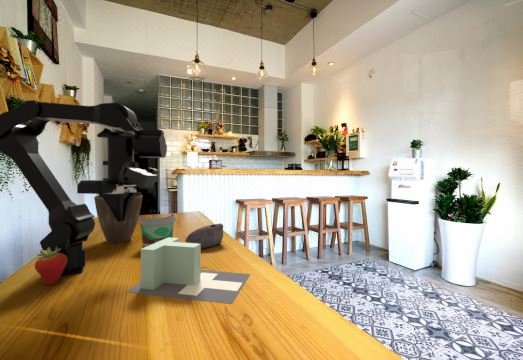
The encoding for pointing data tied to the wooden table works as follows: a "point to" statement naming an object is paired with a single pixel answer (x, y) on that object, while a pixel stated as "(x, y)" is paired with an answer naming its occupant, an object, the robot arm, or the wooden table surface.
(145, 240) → the food container
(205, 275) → the mat
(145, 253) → the t block
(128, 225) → the plant pot
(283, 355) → the wooden table surface
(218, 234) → the perforated stone tool
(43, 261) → the fruit
